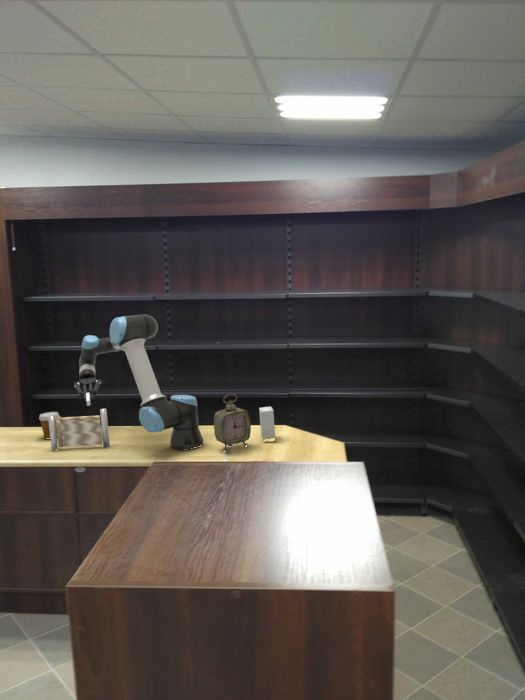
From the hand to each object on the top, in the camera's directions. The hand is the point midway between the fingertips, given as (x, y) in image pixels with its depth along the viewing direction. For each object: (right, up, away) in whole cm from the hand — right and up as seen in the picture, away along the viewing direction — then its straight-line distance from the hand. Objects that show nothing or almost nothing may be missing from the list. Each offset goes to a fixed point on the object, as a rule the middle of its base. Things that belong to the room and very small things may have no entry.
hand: (88, 403), depth 250 cm
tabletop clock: (+67, -20, -9) cm, 70 cm away
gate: (-4, -19, 0) cm, 20 cm away
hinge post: (+8, -20, +1) cm, 22 cm away
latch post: (-15, -22, 0) cm, 27 cm away
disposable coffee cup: (-24, -19, +19) cm, 36 cm away
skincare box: (+83, -17, +1) cm, 84 cm away
